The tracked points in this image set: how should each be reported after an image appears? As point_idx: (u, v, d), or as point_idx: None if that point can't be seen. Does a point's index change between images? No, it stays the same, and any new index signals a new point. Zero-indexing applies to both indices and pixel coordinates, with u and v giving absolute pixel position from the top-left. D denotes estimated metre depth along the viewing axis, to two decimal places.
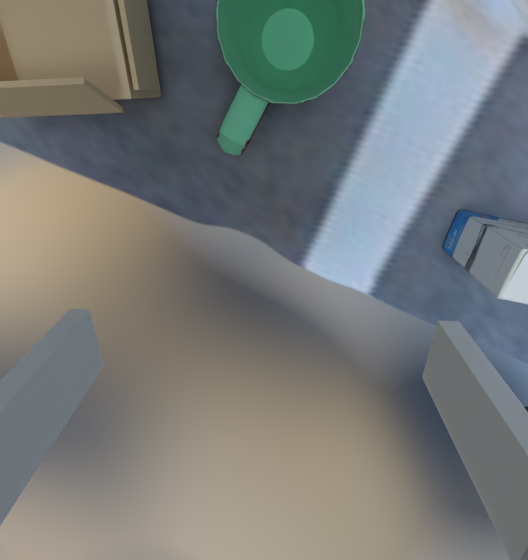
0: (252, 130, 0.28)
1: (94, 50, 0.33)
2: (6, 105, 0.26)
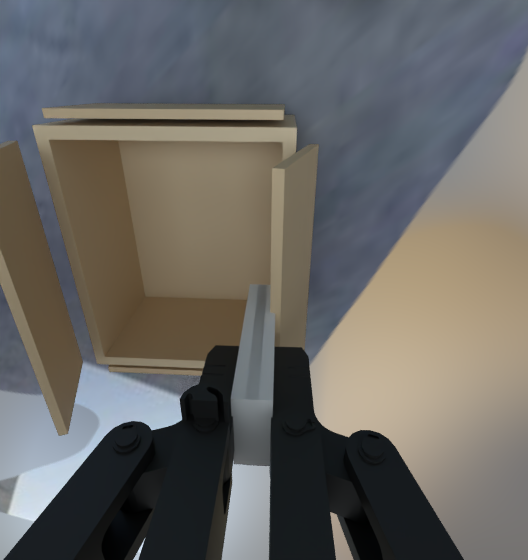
0: None
1: (232, 200, 0.25)
2: (296, 319, 0.17)
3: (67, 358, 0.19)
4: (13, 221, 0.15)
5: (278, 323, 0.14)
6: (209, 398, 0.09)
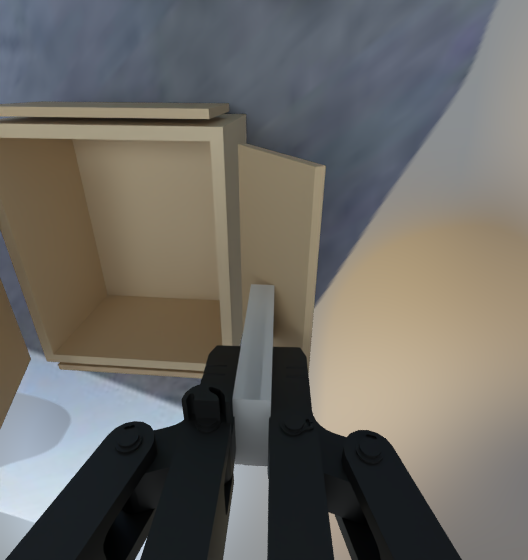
0: None
1: (187, 199, 0.25)
2: None
3: (6, 355, 0.20)
4: None
5: (311, 317, 0.14)
6: (211, 398, 0.09)
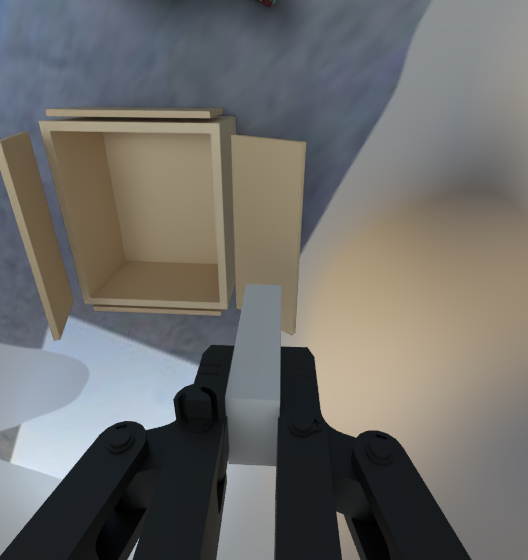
0: None
1: (191, 181, 0.33)
2: None
3: (61, 290, 0.27)
4: (25, 184, 0.22)
5: (300, 239, 0.23)
6: (203, 398, 0.09)
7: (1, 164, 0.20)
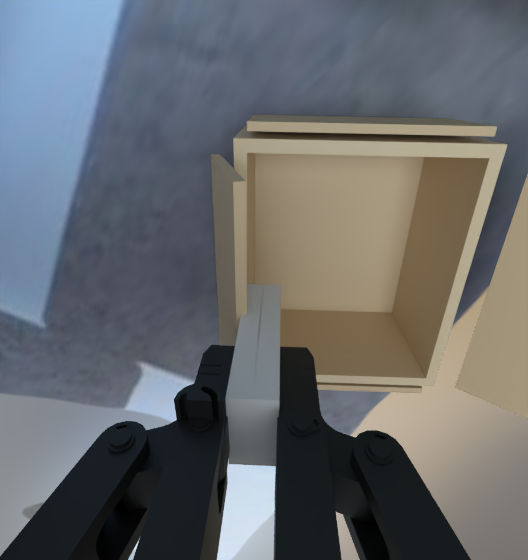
0: None
1: (362, 212, 0.25)
2: None
3: None
4: None
5: None
6: (204, 398, 0.09)
7: (238, 218, 0.12)
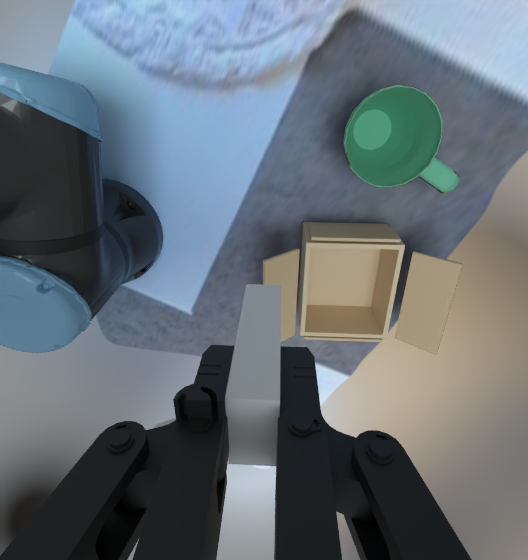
0: (448, 167, 0.39)
1: (355, 259, 0.54)
2: None
3: (282, 328, 0.48)
4: (277, 277, 0.44)
5: (450, 306, 0.44)
6: (203, 398, 0.09)
7: (263, 269, 0.42)
